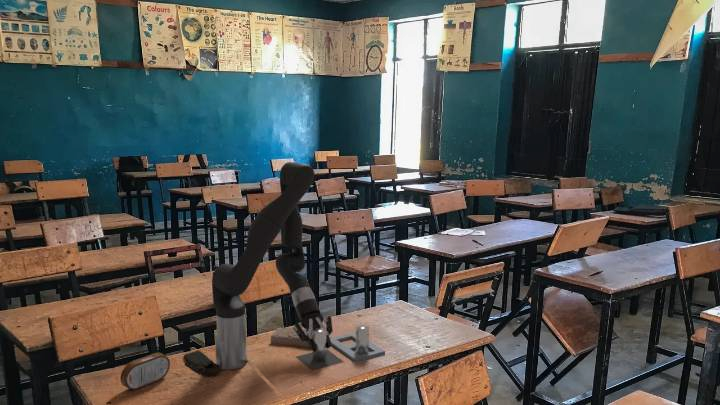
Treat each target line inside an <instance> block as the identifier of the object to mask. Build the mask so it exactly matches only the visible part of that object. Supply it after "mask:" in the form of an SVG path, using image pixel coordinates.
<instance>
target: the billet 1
mask: <svg viewBox="0 0 720 405" xmlns="http://www.w3.org/2000/svg"><path fill="white" fill-rule="evenodd" d="M312 339H314V342H315V344H316V347H317V350H316V351H315V352H313V351H312V350H311V351H312V352H311V353H312V360H313V361H315V362H324V361H325V360H326V349H327V348H326V328H325V329H324V328H315V329H313V330H312Z"/></svg>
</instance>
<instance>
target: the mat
mask: <svg viewBox="0 0 720 405" xmlns="http://www.w3.org/2000/svg"><path fill="white" fill-rule="evenodd" d="M295 358H296V359H297V360H298V361H299V362H301V363H302V364H303V365H305V367H307V369H309V370H310V371H312V372H313V371H315V370H319V369H323V368H327V367H330V366H334V365H337V364H342V363H345V361H343V360H342V359H341V358H340V357H338V356H337V355H336V354H334V353H333V352H331V351H330V350H329V349H327V348H326V360H325V361H324V362H315V361H313V360H312V352H309V353H305V354H301V355H296V356H295Z"/></svg>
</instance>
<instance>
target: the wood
mask: <svg viewBox="0 0 720 405" xmlns="http://www.w3.org/2000/svg"><path fill="white" fill-rule="evenodd" d="M183 357H184V359H185V361H186V362H185V363H184V365H185V367H187V368H189V370H191V371H192V372H195V373H198V374H200V375H201V376H202V377H205V378H210V377H211V378H212V377H216V376H218V373H219V370H220V369H221V368H220V366H218V365H217V364H216V362H214V361H213V360H212V359H210V358H209V357H208V356H207V355H206V354H205V353H203V352H202V351H201V350H195V351H192V352H189V353H186V354H184V355H183Z"/></svg>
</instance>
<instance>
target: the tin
mask: <svg viewBox="0 0 720 405" xmlns="http://www.w3.org/2000/svg"><path fill="white" fill-rule="evenodd" d="M170 364H171V361H170V359H169V357H168V356H166V355H165V354H164V353H162V352H154V353H152V354H149V355H146V356H143V357H140V358H137V359H134V360H132V361H130V362H128V363H127V364H126V365H125V366H124V367H123V369H122V371H121V373H120V383H121V385H122V386H124V387H125V388H126V389H129V390H138V389H140V388H139V387H141V388H143V387H145V385H146V386H149V385H150V384H154V383H156V382H158V381H160V380H162V379H164V378H165V377H166V375H167V374H168V373H169V370H170V366H171V365H170ZM153 382H154V383H153ZM142 386H143V387H142ZM137 388H138V389H137Z"/></svg>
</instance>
